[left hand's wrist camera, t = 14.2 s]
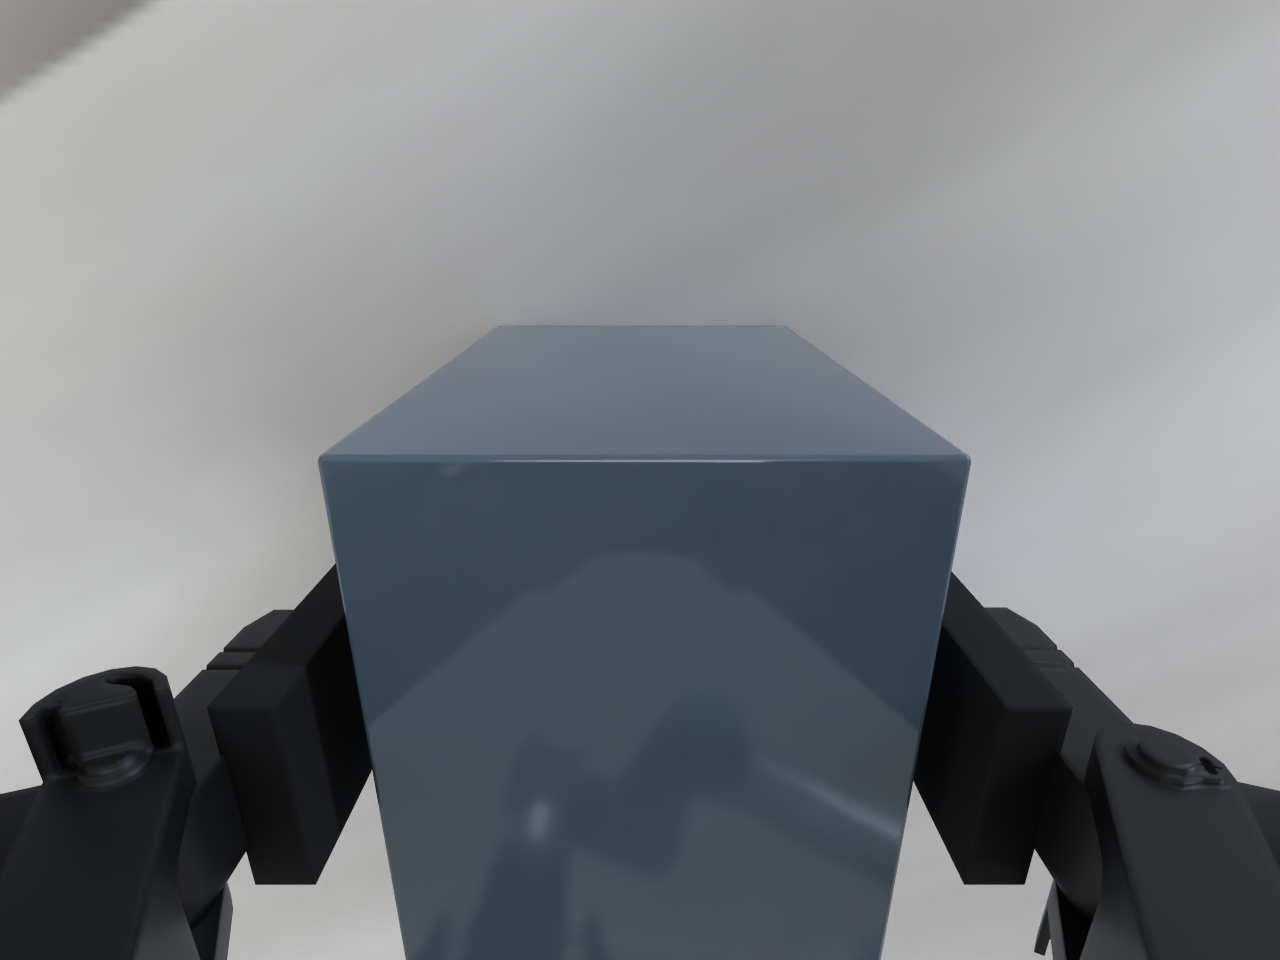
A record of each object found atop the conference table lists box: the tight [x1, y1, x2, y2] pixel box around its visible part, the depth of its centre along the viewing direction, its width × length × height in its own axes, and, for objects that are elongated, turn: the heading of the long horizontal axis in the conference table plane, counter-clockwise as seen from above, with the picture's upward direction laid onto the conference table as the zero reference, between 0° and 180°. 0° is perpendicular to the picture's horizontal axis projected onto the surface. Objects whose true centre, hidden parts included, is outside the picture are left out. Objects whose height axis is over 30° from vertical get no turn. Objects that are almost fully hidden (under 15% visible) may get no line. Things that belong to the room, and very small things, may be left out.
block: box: [318, 326, 971, 960], centre depth 13 cm, size 7×8×10 cm
